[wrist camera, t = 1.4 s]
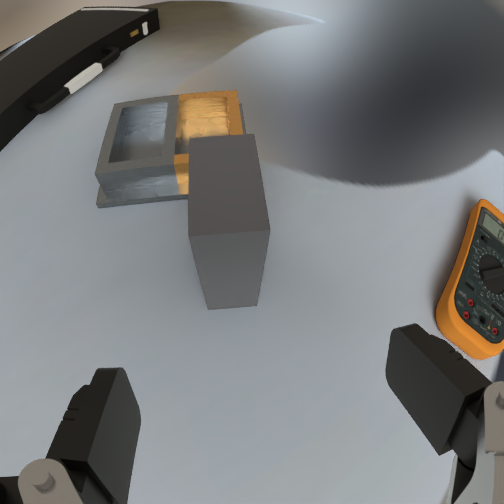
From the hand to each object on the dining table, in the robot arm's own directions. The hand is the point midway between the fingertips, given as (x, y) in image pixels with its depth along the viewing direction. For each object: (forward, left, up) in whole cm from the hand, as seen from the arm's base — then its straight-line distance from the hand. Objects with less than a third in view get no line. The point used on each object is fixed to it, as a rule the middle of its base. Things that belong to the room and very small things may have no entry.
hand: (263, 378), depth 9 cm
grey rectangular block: (+7, +8, -16) cm, 19 cm away
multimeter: (+23, -14, -17) cm, 32 cm away
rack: (+14, +22, -16) cm, 31 cm away
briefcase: (+13, +59, -17) cm, 63 cm away
